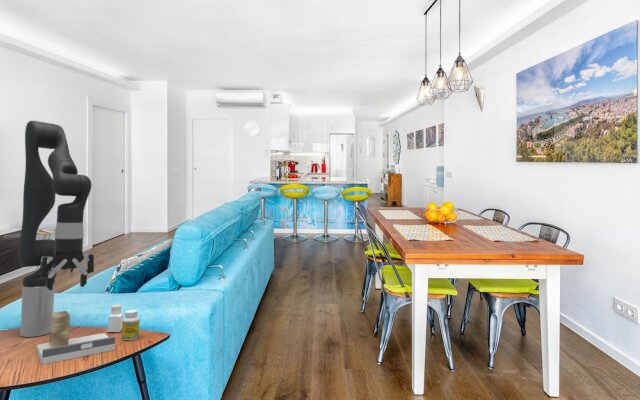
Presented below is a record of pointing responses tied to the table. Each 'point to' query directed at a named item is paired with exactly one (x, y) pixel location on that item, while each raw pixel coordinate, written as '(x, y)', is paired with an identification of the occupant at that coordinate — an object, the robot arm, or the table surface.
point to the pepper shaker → (115, 319)
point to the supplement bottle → (130, 325)
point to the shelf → (76, 348)
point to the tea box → (59, 329)
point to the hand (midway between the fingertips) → (66, 288)
